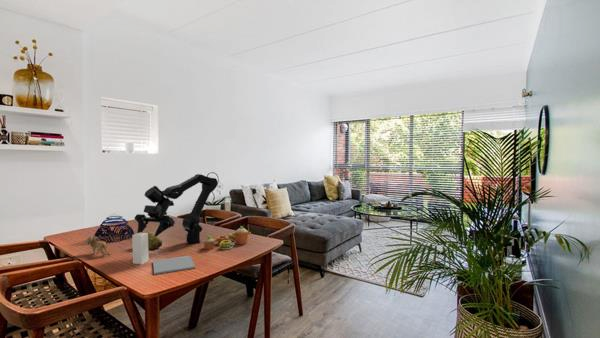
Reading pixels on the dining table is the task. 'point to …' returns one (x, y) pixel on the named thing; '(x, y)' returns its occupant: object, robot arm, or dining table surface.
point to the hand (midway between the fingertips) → (146, 235)
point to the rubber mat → (173, 264)
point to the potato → (153, 241)
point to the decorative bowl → (107, 229)
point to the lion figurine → (97, 245)
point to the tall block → (140, 248)
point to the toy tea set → (228, 239)
